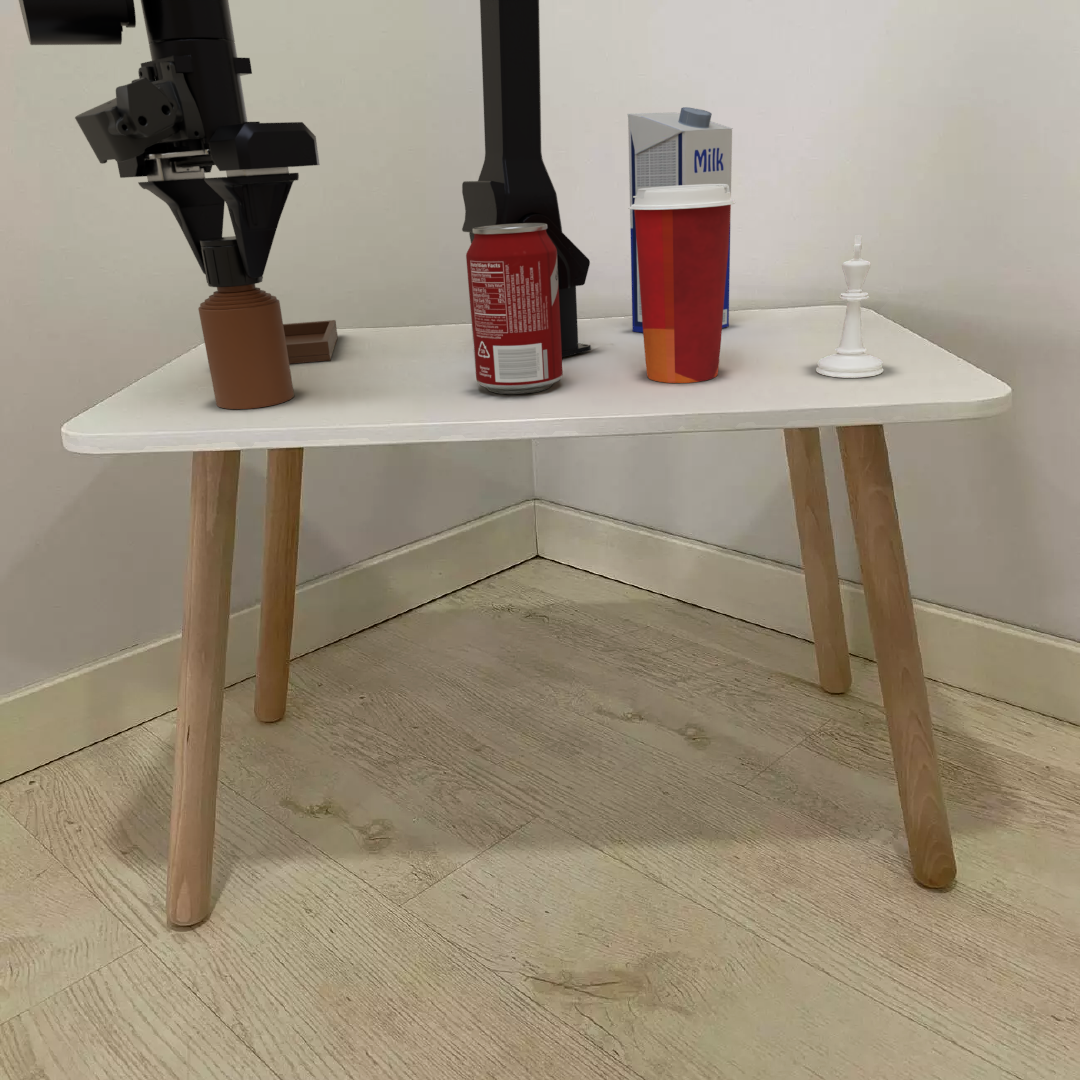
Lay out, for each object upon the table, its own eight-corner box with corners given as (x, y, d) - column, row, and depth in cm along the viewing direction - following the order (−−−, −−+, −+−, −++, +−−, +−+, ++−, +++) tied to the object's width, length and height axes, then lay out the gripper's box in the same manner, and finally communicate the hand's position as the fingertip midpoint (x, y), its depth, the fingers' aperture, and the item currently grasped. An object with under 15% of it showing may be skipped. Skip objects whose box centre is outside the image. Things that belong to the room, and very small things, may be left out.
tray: (330, 360, 89) (327, 341, 88) (218, 369, 88) (215, 350, 87) (337, 336, 101) (335, 319, 100) (239, 344, 100) (236, 327, 99)
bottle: (308, 397, 75) (285, 246, 71) (238, 413, 71) (209, 254, 67) (271, 387, 79) (247, 244, 75) (203, 402, 76) (174, 252, 71)
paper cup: (738, 365, 77) (742, 181, 72) (723, 387, 70) (726, 186, 65) (644, 364, 80) (641, 186, 74) (621, 385, 73) (616, 191, 68)
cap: (251, 285, 70) (244, 239, 69) (199, 288, 70) (191, 242, 69) (270, 279, 74) (262, 234, 72) (220, 281, 74) (212, 237, 73)
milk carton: (677, 320, 98) (676, 109, 91) (730, 326, 94) (734, 104, 86) (630, 331, 94) (626, 111, 86) (683, 338, 89) (683, 105, 82)
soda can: (554, 397, 70) (545, 227, 66) (466, 397, 72) (452, 231, 67) (569, 376, 77) (563, 220, 72) (489, 377, 78) (477, 224, 74)
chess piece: (812, 377, 72) (819, 239, 68) (819, 363, 76) (827, 232, 72) (881, 378, 70) (892, 237, 66) (885, 364, 74) (895, 231, 70)
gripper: (21, 56, 67) (74, 284, 72) (142, 19, 54) (194, 297, 60) (170, 60, 74) (208, 267, 80) (306, 28, 62) (339, 275, 68)
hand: (232, 275), depth 72 cm, fingers open, 6 cm apart
